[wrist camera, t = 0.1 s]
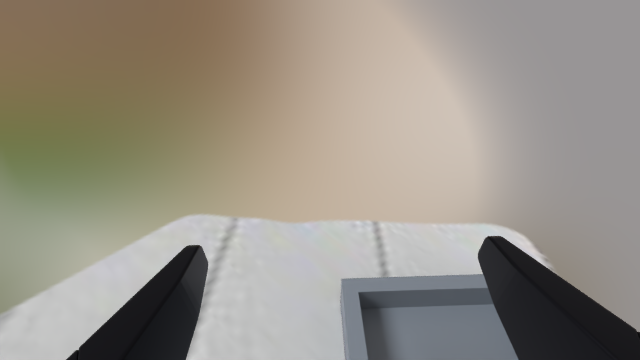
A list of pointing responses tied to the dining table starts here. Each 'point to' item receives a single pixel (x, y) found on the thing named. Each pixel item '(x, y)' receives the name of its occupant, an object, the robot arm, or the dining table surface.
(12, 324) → the dining table surface
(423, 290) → the tray
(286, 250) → the dining table surface
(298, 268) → the dining table surface
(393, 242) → the dining table surface
